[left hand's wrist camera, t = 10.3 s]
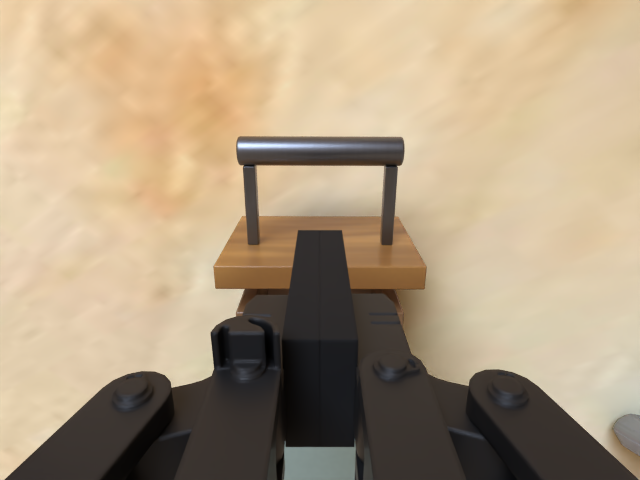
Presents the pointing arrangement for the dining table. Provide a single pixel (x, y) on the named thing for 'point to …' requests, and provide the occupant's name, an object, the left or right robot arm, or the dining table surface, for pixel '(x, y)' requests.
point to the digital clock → (629, 432)
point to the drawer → (319, 223)
